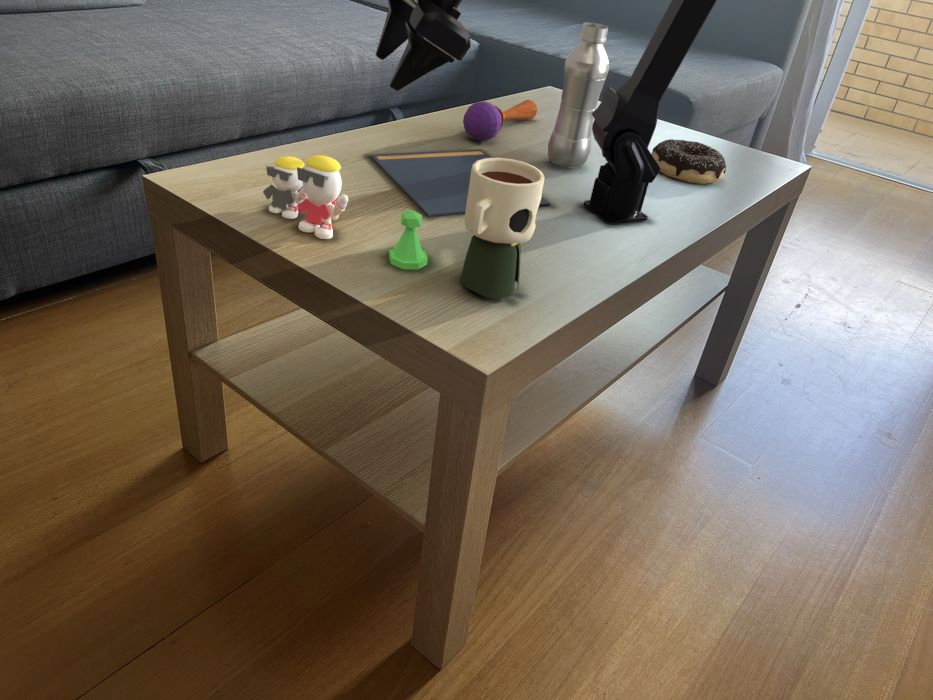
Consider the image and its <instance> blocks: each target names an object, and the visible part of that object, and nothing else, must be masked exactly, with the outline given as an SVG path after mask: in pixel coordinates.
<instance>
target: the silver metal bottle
mask: <svg viewBox="0 0 933 700" xmlns="http://www.w3.org/2000/svg"><path fill="white" fill-rule="evenodd" d="M608 31H609V27H608V26H606V25H604V24H601V23H596V22H583V23H582V25H581V30H580V33H579V39H580V41H579V43H577V45H576V46H575V47H574V48H573V49H572V50H571V51H570V52H569V53H568V55H567V57H566V59H565V62H564V69H563V70H564V71H563V81H562V82H563V84H562V92H561V98H560V99H561V101H560V105H559V110H558V113H557V116H556V121H555V124H554V128H553V130H552V132H551V134H550V137H549V140H548V143H547V156H548V159H549V162H551V163H553V164H555V165H557V166H559V167H565V168H570V169H573V168H575V169H576V168H580V167H582V166H583V165H584V164H586V163H587V161H588V158H589V156H590V153H591V147H592V134H593V131H592V125H593V122H594V120H595V119H594V117H593V116H592V113H593V112H594V111H595V110H596V109H597V106H598V103H599V101H600V100H599V99H600V96H601V94H602V90H603V88H604V85H605V82H606V80H607V76H608V75H609V71H610V61H609V58H608V54H607V52H606V50H605V46H604V43H606V42H607V40H608V38H607V36H608Z"/></svg>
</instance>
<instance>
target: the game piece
mask: <svg viewBox="0 0 933 700" xmlns="http://www.w3.org/2000/svg"><path fill="white" fill-rule="evenodd" d="M422 217H423V214H421V213H419V212H417V211H415V210H414V209H411V210H407V211H403V212H401V217H400V225H402V226H404V227H405V229H404V230H403V232H402V234H401V235H400V238H399V239H398V241H397V242H396V245H395V246H394V247H393V248H392V249H389V251H388V259H389V262H390V265H392V266H394V267H397V268H399V269H401V270H411V271H412V270H415V271H416V270H420V269H422V268H424V267H426V266H427V265H428V260H429V258H428V257H429V256H428V255H427V252H426V250H424V249H422V245H421V242H420V239H419V235H418V231H417V228H420V227H422V221H423V220H422V219H423V218H422Z"/></svg>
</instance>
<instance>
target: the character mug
mask: <svg viewBox="0 0 933 700" xmlns="http://www.w3.org/2000/svg"><path fill="white" fill-rule="evenodd" d="M545 178H546V177H545V175H544V173H543V171H541V170H540V169H538V168H537V167H536V166H534V165H532V164H529V163H527V162H525V161H521V160H517V159H513V158H506V157H505V158H504V157H491V158H485V159H481V160H477V161H476V162H475V163H474V164H473V165H472V169H471V176H470V183H469V190H468V197H467V204H466V212H465V213H464V225H465V229H466V230H467V231H468V232H469V233H470V234H471V235H472V236H471V238H470V242H469V244H468V248H467V251H466V254H465V258H464V262H463V266H462V269H461V274H460V278H459V281H460V282H461V283H462V285H463V286H464V287H466V288H467V289H470V290H471V291H472V292H474V293H477V294H478V295H480V296H483V297H485V298H486V299H504V298H505V299H506V298H509V297H512V296H513V295H514V289H515V283H516V285H517V286H516V292H518V291H519V290H520V289H519V287H520V279H521V278H520V276H521V257H522V255H521V254H522V244H523V243H526V242H528V241H530V240H531V239H532V237H533V235H534V232H535V230H536V218H537V212H538V210H539V207H540V206H539V204H540V201H541V197H542V196H543V189H544V184H545Z"/></svg>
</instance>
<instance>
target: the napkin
mask: <svg viewBox="0 0 933 700" xmlns="http://www.w3.org/2000/svg"><path fill="white" fill-rule="evenodd" d="M370 158H371V159H372V160H373V161H374V162H375V163H376V165H378V166H379V167H380V168H381V169H382V170H383V171H384V172H385V174H387V175H388V176H389V177H390V179H392V181H394V182H395V184H396V185H397V186H399V188H400V189H401V190H402V191H403V192H404V193H405V194H406V195H407V196H408V197H409V198H410V199H411V200H412V202H414V203H415V205H417V206H418V208H419V209H420V210H421V211H423V212H424V214H425V215H426V216H428V217H434V216H435V217H436V216H447V215H458V214H465V212H466V204H467V197H468V190H469V183H470V176H471V169H472V165H473V164H474V163H475V162H476V161H477V160H481V159H485V158H492V156H491V155H489V154H487V153H486V152H485V151H484V150H483V149H466V150H465V149H464V150H463V149H462V150H445V151H444V150H443V151H442V150H441V151H440V150H439V151H421V152H418V151H417V152H399V153H379V154H378V153H377V154H376V153H375V154H370ZM545 206H547V207H548V206H551V203H550V202H549V201H548V200H546V199H545V198H544V197H541V201H540V204H539V207H545Z"/></svg>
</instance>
